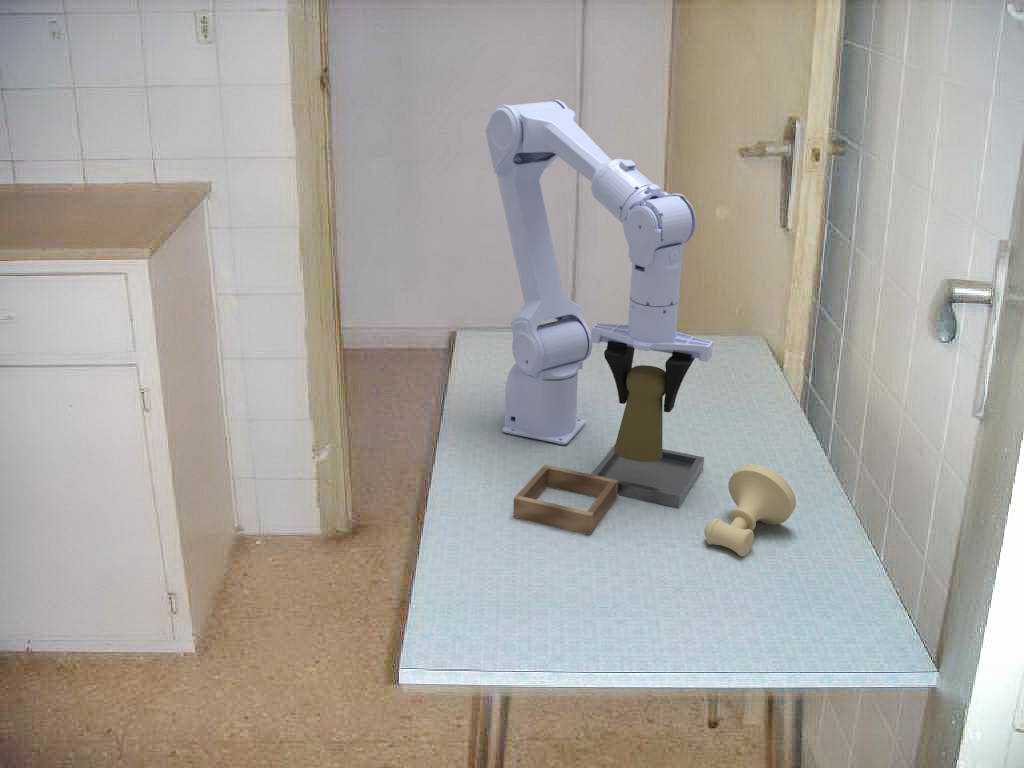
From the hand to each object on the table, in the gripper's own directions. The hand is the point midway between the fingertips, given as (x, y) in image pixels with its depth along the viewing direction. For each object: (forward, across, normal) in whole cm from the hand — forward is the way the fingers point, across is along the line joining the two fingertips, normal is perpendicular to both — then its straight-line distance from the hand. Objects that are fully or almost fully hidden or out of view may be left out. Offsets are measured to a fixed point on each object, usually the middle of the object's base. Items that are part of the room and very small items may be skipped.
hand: (646, 404), depth 133 cm
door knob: (+11, +15, -8) cm, 20 cm away
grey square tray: (+10, 0, +1) cm, 10 cm away
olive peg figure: (+6, 0, -1) cm, 6 cm away
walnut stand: (+10, -6, -11) cm, 16 cm away
